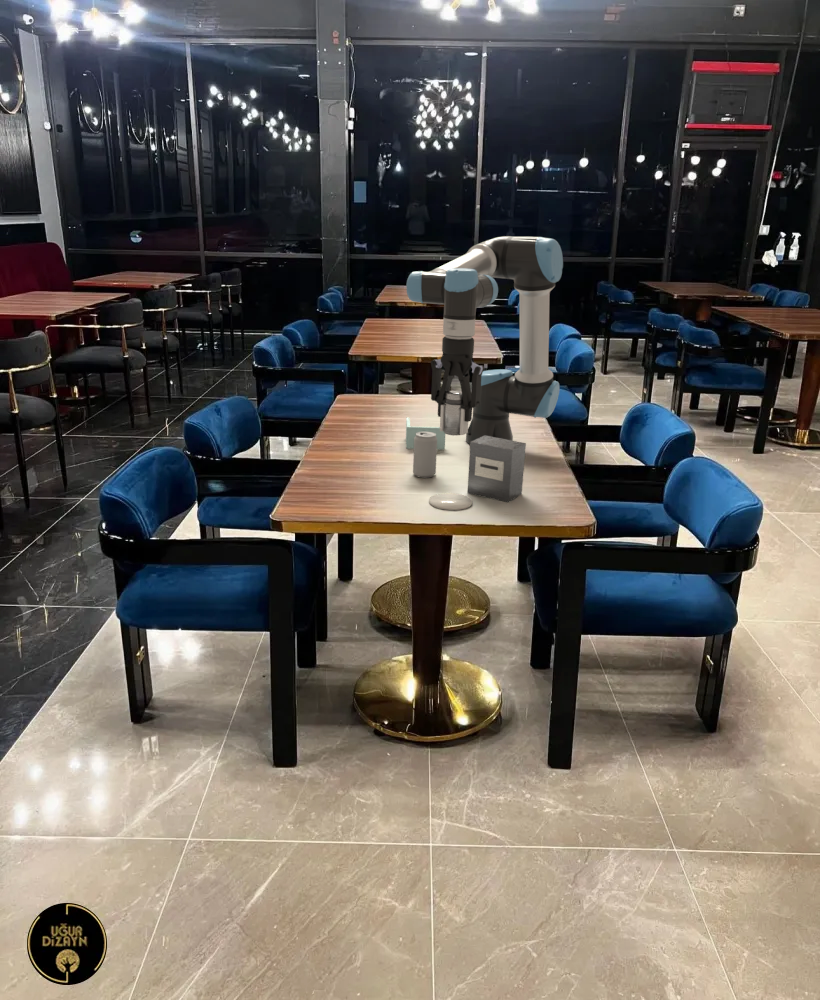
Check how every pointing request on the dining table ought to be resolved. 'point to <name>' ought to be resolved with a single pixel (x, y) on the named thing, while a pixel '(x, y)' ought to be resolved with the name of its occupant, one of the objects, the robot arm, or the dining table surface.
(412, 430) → the l-shaped corner panel
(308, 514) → the dining table surface
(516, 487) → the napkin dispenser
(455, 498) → the stone coaster
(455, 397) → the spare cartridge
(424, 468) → the beverage can
